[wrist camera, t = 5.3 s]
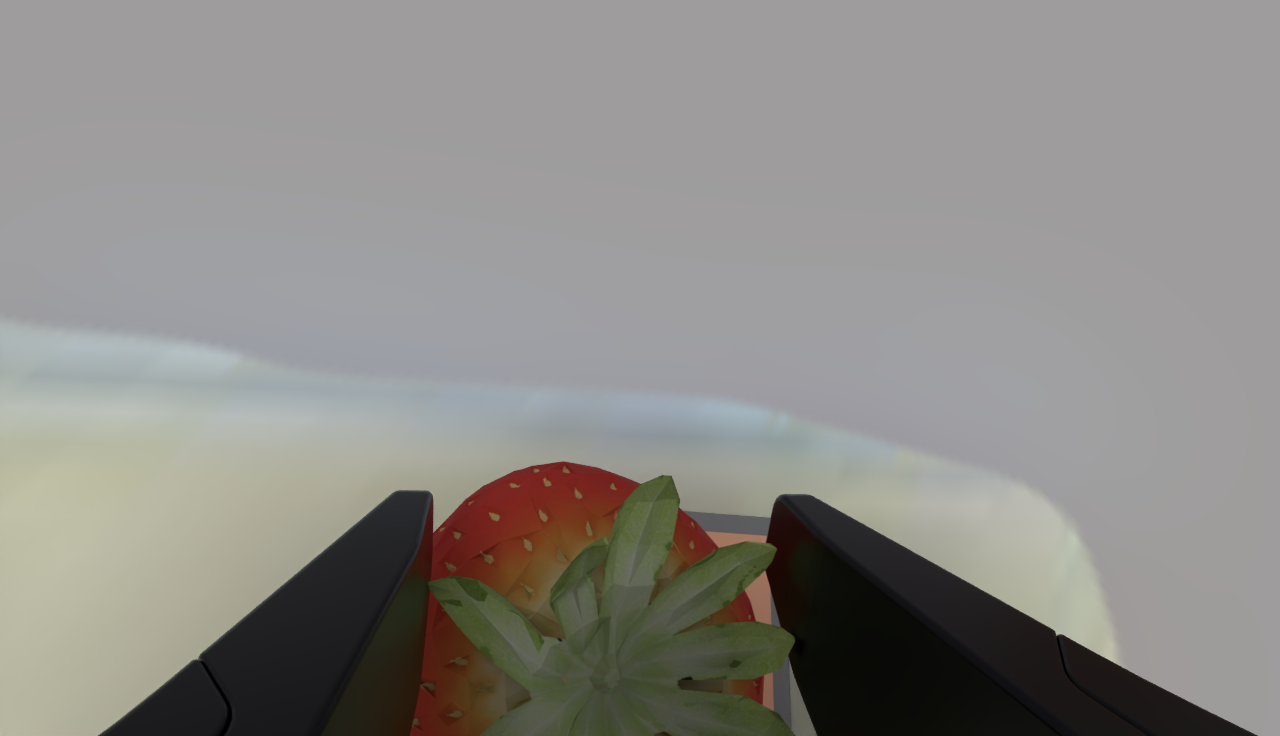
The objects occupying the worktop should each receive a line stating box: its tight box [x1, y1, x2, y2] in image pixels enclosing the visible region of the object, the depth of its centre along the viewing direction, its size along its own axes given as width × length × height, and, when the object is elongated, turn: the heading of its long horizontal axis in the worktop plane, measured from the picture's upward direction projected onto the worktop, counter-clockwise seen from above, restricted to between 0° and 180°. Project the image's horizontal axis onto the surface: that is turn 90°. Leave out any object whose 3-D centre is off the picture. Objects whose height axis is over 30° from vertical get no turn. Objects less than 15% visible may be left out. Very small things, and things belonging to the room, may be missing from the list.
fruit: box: [410, 462, 795, 736], centre depth 11 cm, size 5×5×8 cm
